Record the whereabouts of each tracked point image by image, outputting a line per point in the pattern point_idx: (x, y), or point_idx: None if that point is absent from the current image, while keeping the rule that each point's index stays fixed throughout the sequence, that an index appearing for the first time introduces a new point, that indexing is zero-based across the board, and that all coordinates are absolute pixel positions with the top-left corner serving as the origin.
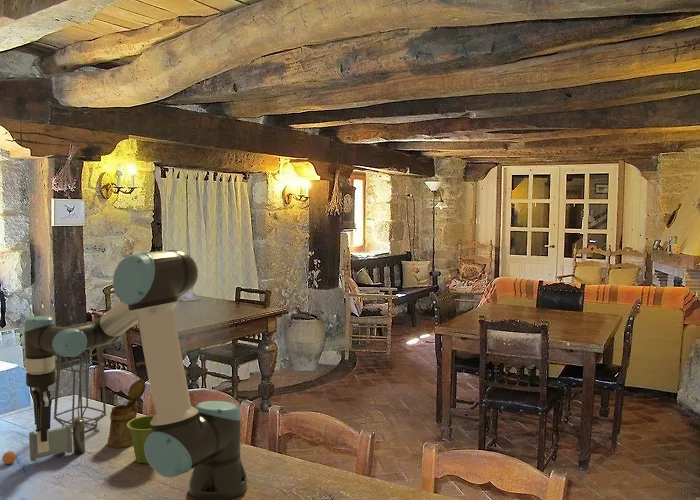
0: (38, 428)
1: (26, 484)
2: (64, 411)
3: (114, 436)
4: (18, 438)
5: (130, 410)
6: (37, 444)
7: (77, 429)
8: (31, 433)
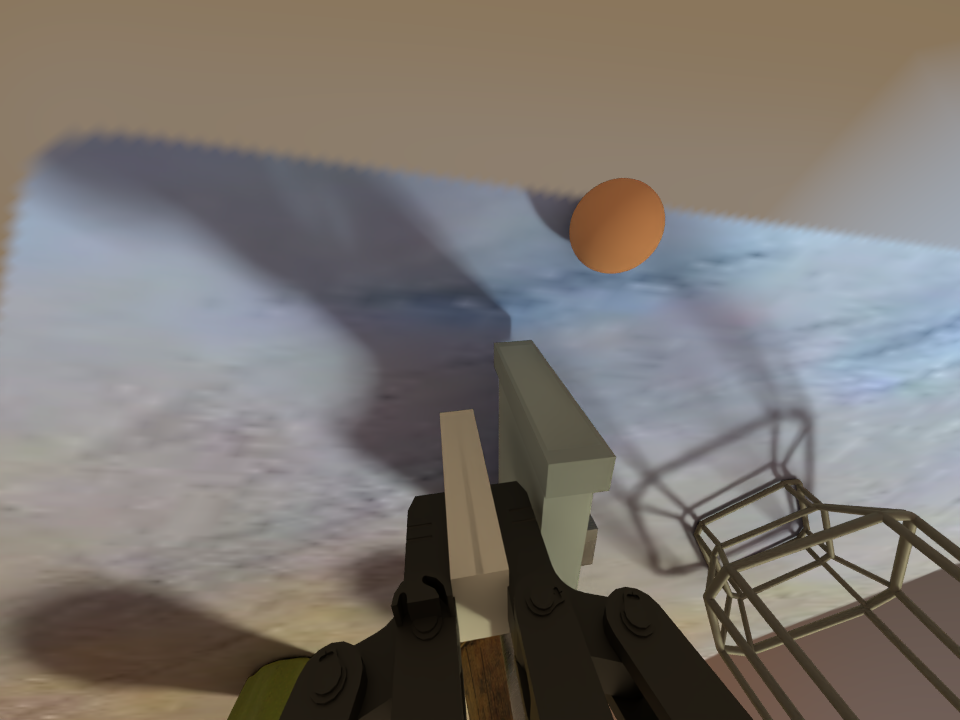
0: (430, 631)
1: (194, 279)
2: (909, 551)
3: (486, 661)
4: (893, 312)
5: None
6: (477, 445)
7: (508, 663)
8: (572, 474)
